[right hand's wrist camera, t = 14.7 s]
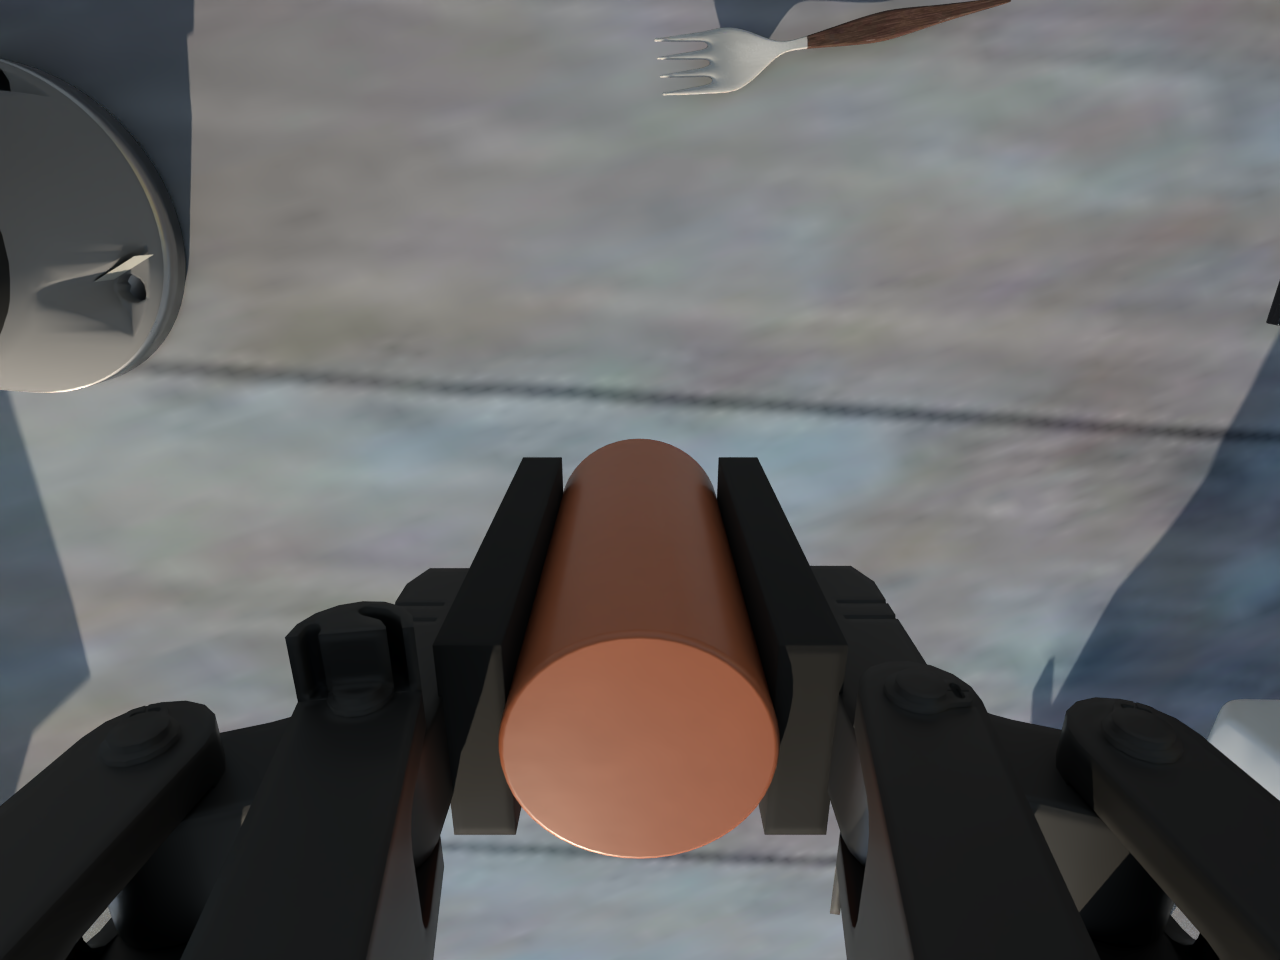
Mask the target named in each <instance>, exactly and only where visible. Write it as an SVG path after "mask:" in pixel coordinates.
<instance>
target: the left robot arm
mask: <svg viewBox="0 0 1280 960" xmlns="http://www.w3.org/2000/svg"><path fill="white" fill-rule="evenodd" d="M1207 741H1208V742H1210V743H1211V744H1212V745H1213V746H1214V747H1216V748H1217V749H1218V750H1219V751H1221V752H1222V753H1223V754H1224V755H1225V756H1227V757H1228V758H1229V759H1230V760H1231V761H1233V762H1234V763H1235V764H1236V765H1237V766H1239V767H1240V768H1241V769H1242V770H1243V771H1245V772H1246V773H1247V774H1248V775H1249V776H1251V777H1252V778H1253V779H1254V780H1255V781H1257V782H1258V783H1259V784H1260V785H1261V786H1263V787H1264V788H1265V789H1266V790H1267V791H1269V792H1270V793H1271V794H1272V795H1273V796H1275V797H1276V798H1277V799H1278V800H1279V801H1280V700H1270V699H1237V700H1232V701H1229V702H1227V703H1226V704H1225V705H1223V707H1222V708H1221V710H1220V711H1219V714H1218V716H1217V718H1216V720H1215V722H1214V725H1213V727H1212V729H1211V731H1210V734H1209V736H1208V739H1207Z"/></svg>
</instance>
